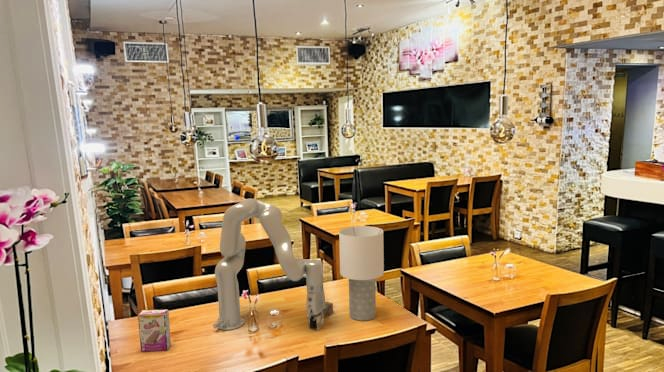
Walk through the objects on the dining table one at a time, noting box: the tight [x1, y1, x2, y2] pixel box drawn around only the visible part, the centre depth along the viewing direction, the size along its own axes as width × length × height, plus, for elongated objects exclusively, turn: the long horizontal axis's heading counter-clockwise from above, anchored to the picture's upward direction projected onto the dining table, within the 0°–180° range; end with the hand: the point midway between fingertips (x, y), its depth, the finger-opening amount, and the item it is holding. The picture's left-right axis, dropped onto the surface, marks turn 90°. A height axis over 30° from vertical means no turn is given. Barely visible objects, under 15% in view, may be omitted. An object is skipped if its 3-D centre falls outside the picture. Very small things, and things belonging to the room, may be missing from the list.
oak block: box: [308, 312, 325, 331], centre depth 204 cm, size 5×5×6 cm
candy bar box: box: [137, 309, 172, 353], centre depth 187 cm, size 11×5×16 cm, turn 92°
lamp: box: [338, 225, 385, 322], centre depth 212 cm, size 21×21×42 cm
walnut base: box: [323, 301, 334, 319], centre depth 218 cm, size 8×8×5 cm
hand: (316, 325), depth 205 cm, fingers closed on oak block, 5 cm apart
